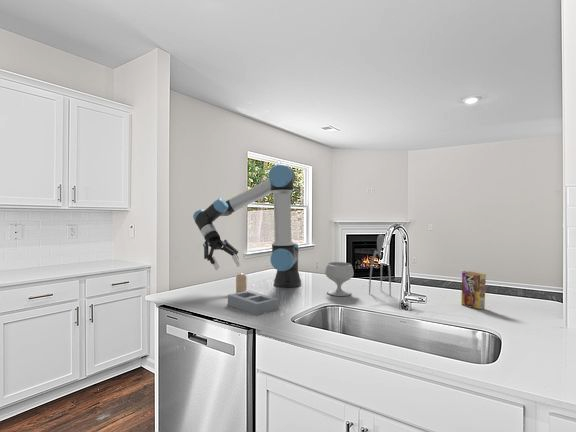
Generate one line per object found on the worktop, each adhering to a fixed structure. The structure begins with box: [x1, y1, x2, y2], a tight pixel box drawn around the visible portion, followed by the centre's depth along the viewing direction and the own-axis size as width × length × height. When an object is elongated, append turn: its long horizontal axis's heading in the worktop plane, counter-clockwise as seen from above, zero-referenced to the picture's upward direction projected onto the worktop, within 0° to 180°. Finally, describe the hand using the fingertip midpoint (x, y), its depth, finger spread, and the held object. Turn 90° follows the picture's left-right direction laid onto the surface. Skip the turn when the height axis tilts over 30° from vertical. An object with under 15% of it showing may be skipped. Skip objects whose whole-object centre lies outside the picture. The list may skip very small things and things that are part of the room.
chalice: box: [324, 261, 355, 297], centre depth 178 cm, size 14×14×15 cm
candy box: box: [460, 270, 487, 309], centre depth 158 cm, size 9×4×15 cm, turn 26°
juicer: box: [368, 233, 392, 296], centre depth 178 cm, size 10×9×30 cm
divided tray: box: [227, 290, 280, 316], centre depth 153 cm, size 12×20×4 cm, turn 44°
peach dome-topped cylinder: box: [235, 272, 248, 293], centre depth 172 cm, size 5×5×11 cm
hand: (228, 267), depth 177 cm, fingers open, 13 cm apart
